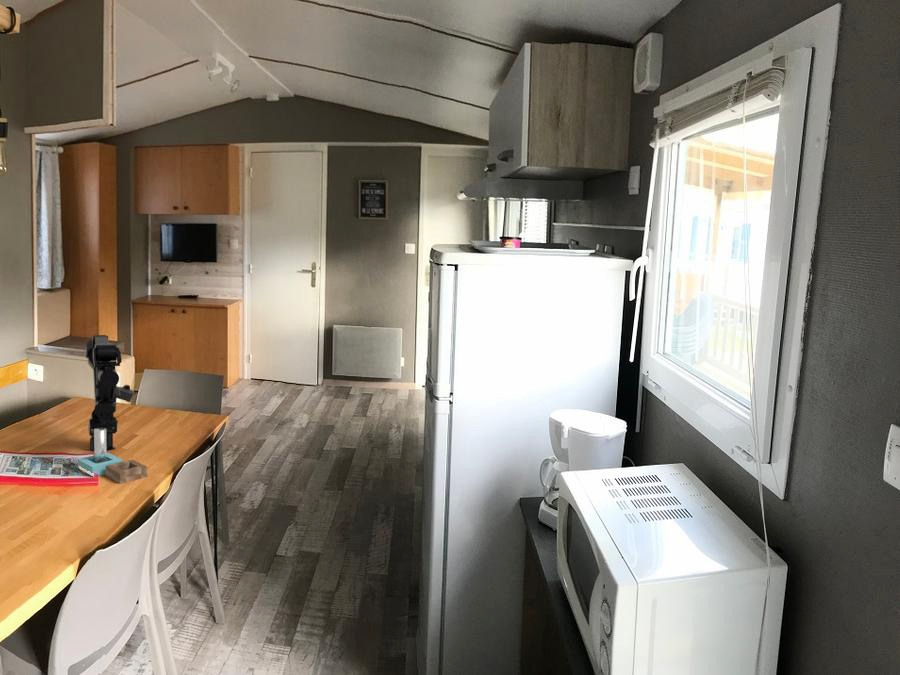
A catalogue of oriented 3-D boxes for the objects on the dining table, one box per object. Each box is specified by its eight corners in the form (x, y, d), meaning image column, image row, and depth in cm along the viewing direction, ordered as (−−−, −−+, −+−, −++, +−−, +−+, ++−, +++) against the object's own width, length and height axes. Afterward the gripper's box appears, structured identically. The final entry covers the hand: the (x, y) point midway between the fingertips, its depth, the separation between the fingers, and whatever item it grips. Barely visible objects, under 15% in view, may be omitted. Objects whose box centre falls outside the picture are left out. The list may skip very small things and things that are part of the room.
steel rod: (105, 466, 222) (104, 427, 220) (107, 470, 219) (107, 430, 217) (93, 468, 220) (92, 428, 217) (95, 472, 217) (95, 431, 215)
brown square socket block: (132, 469, 222) (132, 459, 221) (147, 476, 216) (147, 466, 216) (105, 476, 214) (105, 465, 214) (120, 483, 209) (120, 473, 209)
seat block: (107, 462, 226) (107, 452, 226) (123, 469, 220) (123, 459, 220) (77, 469, 218) (77, 459, 218) (92, 477, 212) (92, 467, 212)
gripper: (132, 386, 218) (132, 431, 220) (132, 374, 234) (132, 416, 236) (94, 387, 213) (94, 434, 215) (96, 374, 229) (97, 418, 232)
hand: (106, 425), depth 225 cm, fingers open, 9 cm apart
